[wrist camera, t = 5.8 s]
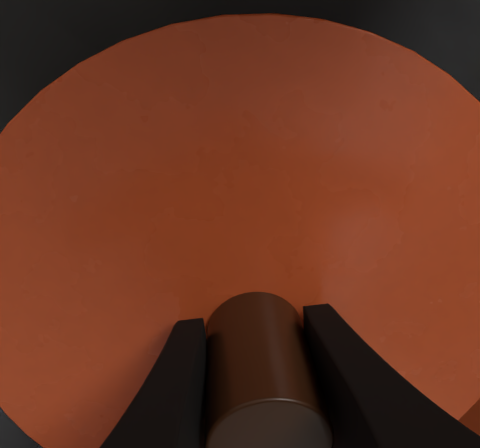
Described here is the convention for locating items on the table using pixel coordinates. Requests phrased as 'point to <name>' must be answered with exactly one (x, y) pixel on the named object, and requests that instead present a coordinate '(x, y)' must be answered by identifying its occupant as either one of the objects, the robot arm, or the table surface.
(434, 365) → the pan lid
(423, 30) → the table surface
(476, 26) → the table surface
